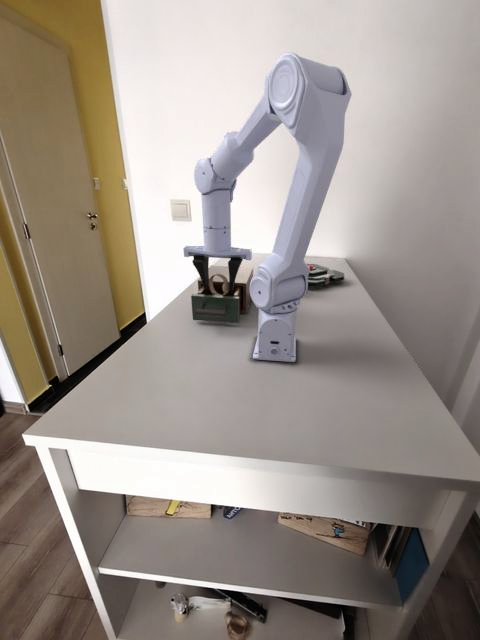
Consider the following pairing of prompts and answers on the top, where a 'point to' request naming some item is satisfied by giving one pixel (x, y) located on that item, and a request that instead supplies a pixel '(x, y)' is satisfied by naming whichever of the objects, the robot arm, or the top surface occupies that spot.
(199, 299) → the drawer
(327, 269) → the four-lobed dark green device
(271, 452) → the top surface
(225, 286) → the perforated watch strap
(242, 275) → the cabinet
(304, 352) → the top surface
